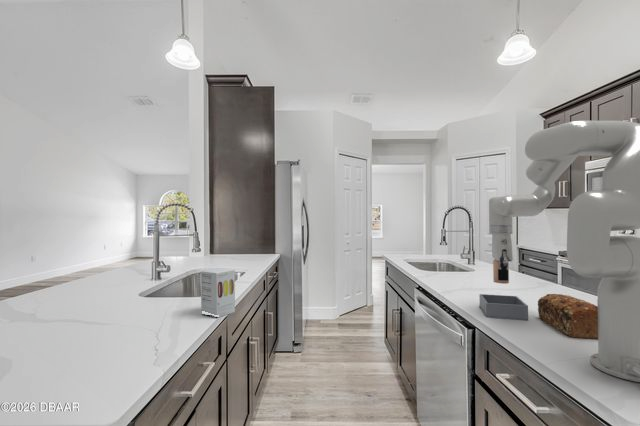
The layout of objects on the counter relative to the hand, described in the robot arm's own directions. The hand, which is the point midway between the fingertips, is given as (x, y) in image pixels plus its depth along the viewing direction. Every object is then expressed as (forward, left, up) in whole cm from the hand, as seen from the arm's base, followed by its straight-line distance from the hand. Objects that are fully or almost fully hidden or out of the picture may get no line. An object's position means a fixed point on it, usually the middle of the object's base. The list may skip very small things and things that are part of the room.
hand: (501, 278), depth 116 cm
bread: (-11, -17, -13) cm, 24 cm away
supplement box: (-27, +104, -13) cm, 109 cm away
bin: (0, 0, -13) cm, 13 cm away
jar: (0, 0, -1) cm, 1 cm away
